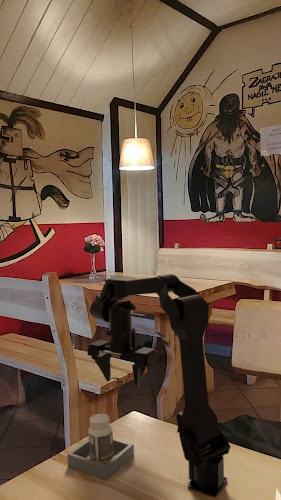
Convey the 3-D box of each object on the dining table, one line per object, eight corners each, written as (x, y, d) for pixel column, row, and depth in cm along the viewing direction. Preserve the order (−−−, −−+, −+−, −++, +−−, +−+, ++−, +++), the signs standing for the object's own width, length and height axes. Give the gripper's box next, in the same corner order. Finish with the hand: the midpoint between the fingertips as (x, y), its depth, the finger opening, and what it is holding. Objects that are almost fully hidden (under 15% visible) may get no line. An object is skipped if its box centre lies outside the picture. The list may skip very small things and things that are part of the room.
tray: (134, 456, 106) (133, 444, 106) (106, 480, 97) (105, 467, 97) (97, 444, 112) (96, 432, 112) (68, 466, 103) (67, 454, 103)
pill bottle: (115, 452, 107) (113, 412, 106) (111, 466, 102) (109, 424, 101) (92, 451, 108) (90, 412, 107) (87, 465, 102) (84, 423, 101)
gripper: (167, 322, 117) (169, 380, 119) (109, 315, 127) (112, 368, 129) (145, 333, 108) (147, 395, 109) (84, 324, 118) (87, 381, 119)
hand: (122, 384), depth 117 cm, fingers open, 9 cm apart
